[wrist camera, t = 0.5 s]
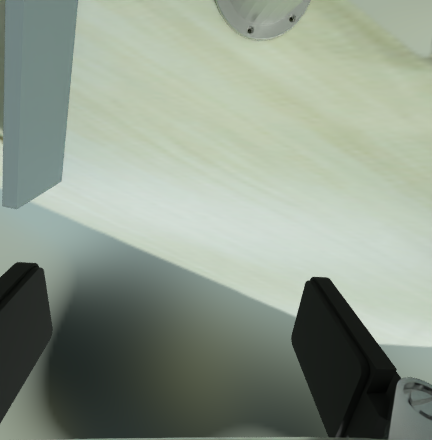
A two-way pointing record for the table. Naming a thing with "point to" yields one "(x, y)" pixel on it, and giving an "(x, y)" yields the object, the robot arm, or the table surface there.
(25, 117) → the wall board
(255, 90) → the table surface
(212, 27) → the table surface
